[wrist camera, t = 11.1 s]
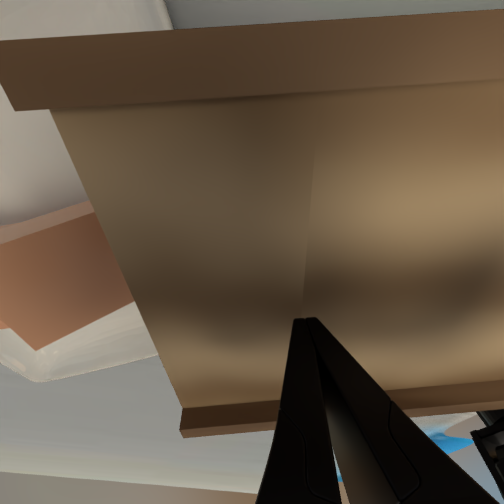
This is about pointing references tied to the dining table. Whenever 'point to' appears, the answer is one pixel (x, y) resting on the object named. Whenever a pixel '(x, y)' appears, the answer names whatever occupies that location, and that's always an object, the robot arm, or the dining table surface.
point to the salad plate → (63, 182)
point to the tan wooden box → (295, 197)
